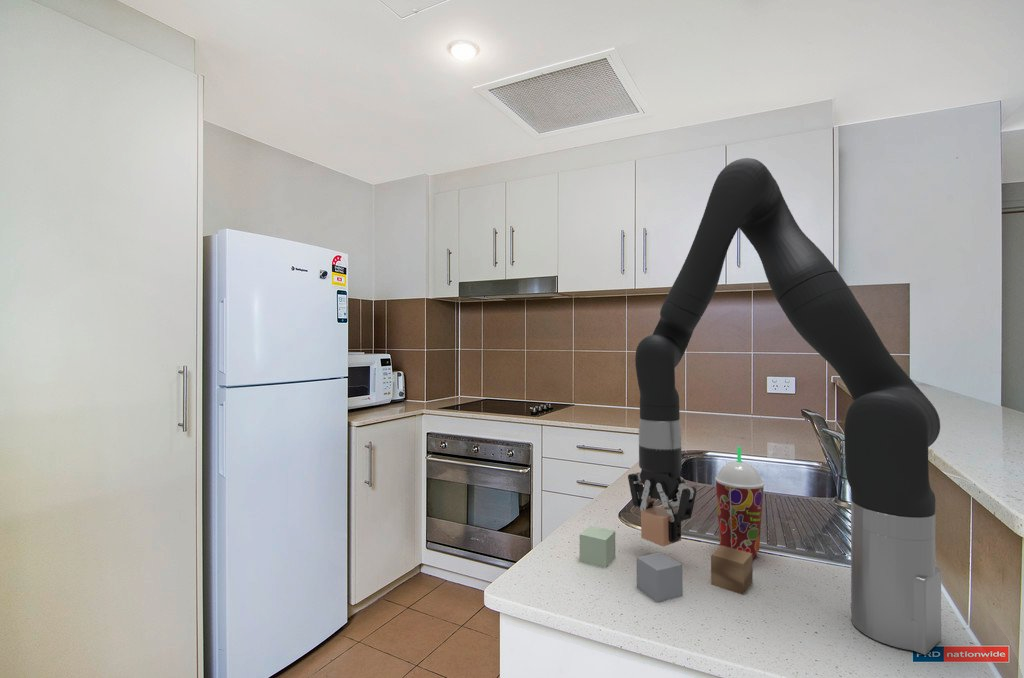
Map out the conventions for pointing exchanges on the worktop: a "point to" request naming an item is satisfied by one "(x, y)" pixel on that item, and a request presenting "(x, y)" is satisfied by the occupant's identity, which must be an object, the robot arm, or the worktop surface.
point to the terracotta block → (655, 526)
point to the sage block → (597, 546)
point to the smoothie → (739, 505)
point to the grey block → (659, 577)
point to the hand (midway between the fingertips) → (661, 536)
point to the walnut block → (731, 569)
